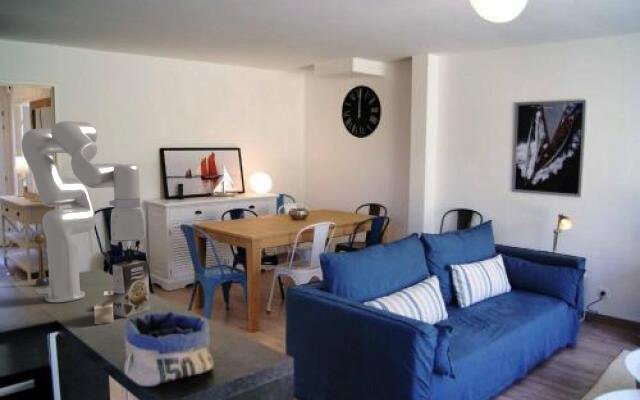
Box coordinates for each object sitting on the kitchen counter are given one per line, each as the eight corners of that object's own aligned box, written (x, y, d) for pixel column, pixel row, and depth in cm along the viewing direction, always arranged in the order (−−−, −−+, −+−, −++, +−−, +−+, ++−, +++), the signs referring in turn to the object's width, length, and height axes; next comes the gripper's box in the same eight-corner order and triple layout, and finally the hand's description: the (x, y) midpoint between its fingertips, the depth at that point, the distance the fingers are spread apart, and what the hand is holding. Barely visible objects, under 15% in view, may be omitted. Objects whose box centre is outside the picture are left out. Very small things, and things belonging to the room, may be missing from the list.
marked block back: (104, 310, 169) (103, 294, 169) (105, 306, 174) (104, 290, 173) (120, 308, 171) (120, 293, 170) (121, 304, 176) (120, 289, 175)
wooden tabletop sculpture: (35, 287, 199) (32, 235, 197) (30, 285, 202) (27, 234, 200) (51, 284, 203) (48, 233, 201) (46, 282, 206) (43, 232, 204)
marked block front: (94, 325, 155) (94, 308, 154) (95, 320, 159) (95, 303, 159) (113, 323, 156) (112, 306, 156) (113, 318, 161) (112, 301, 160)
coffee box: (126, 318, 160) (124, 266, 159) (113, 314, 164) (111, 264, 162) (150, 310, 168) (148, 261, 167) (137, 307, 172) (135, 259, 170)
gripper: (100, 206, 157) (103, 266, 159) (152, 204, 162) (154, 262, 164) (102, 203, 164) (104, 261, 166) (151, 202, 169) (153, 257, 171)
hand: (129, 261), depth 165 cm, fingers closed
